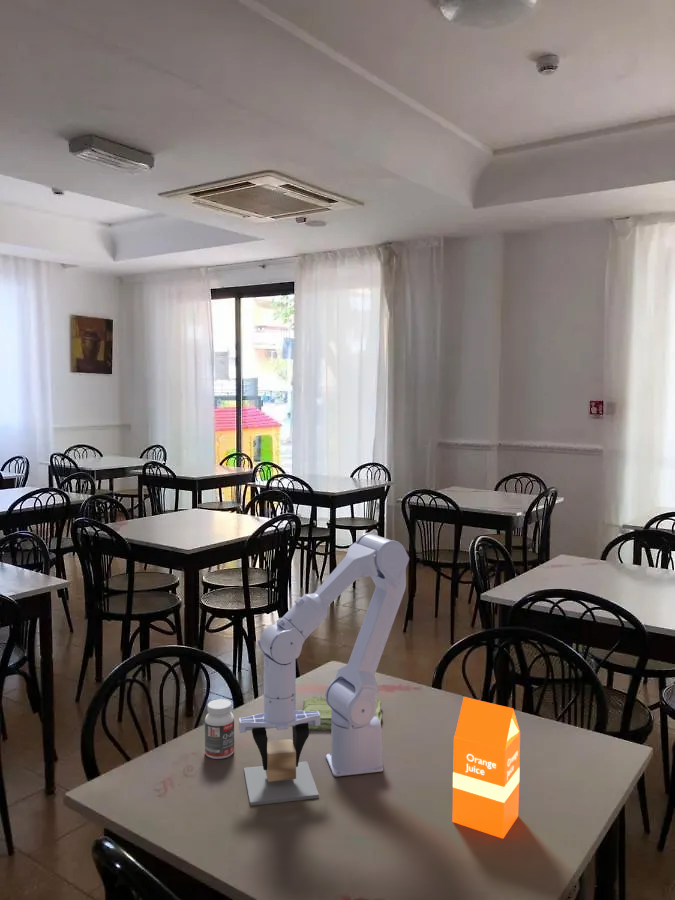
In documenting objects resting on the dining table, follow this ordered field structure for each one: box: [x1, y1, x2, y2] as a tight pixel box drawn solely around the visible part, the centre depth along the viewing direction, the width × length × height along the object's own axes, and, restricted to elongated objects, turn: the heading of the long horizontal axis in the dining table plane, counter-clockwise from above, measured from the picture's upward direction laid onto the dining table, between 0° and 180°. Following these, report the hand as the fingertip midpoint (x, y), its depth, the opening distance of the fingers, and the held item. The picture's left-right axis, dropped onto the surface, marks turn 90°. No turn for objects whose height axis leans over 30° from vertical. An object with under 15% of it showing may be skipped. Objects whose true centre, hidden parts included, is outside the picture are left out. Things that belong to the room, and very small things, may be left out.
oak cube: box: [265, 738, 296, 782], centre depth 134 cm, size 5×5×5 cm
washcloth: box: [301, 695, 383, 731], centre depth 161 cm, size 13×18×3 cm
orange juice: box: [451, 696, 521, 839], centre depth 123 cm, size 8×9×20 cm
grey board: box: [243, 761, 320, 807], centre depth 134 cm, size 12×12×1 cm
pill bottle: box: [204, 698, 235, 760], centre depth 145 cm, size 6×6×10 cm
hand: (280, 765), depth 134 cm, fingers closed on oak cube, 5 cm apart
